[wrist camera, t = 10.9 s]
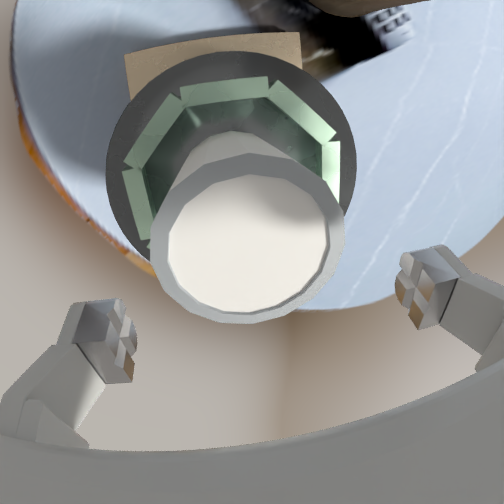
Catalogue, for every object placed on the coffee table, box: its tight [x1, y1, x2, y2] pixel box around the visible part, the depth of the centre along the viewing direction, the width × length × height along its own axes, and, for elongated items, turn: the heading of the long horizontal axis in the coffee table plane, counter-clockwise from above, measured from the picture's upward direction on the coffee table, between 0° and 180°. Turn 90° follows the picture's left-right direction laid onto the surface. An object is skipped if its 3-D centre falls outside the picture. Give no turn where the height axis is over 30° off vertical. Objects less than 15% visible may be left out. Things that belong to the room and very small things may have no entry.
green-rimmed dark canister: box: [106, 32, 357, 261], centre depth 21 cm, size 18×14×13 cm
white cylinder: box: [150, 131, 345, 324], centre depth 13 cm, size 7×7×7 cm
